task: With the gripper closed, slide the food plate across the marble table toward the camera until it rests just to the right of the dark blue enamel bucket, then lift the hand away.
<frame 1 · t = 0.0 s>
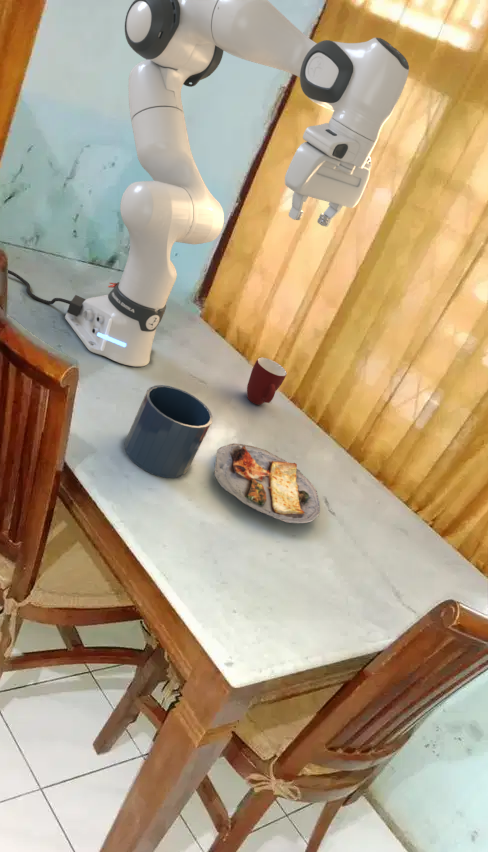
hand: (308, 221, 132), 48 cm above the table, tool pointing down, fingers open, 8 cm apart
mug: (255, 403, 179), on the table
food plate: (263, 489, 148), on the table
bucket: (156, 456, 140), on the table
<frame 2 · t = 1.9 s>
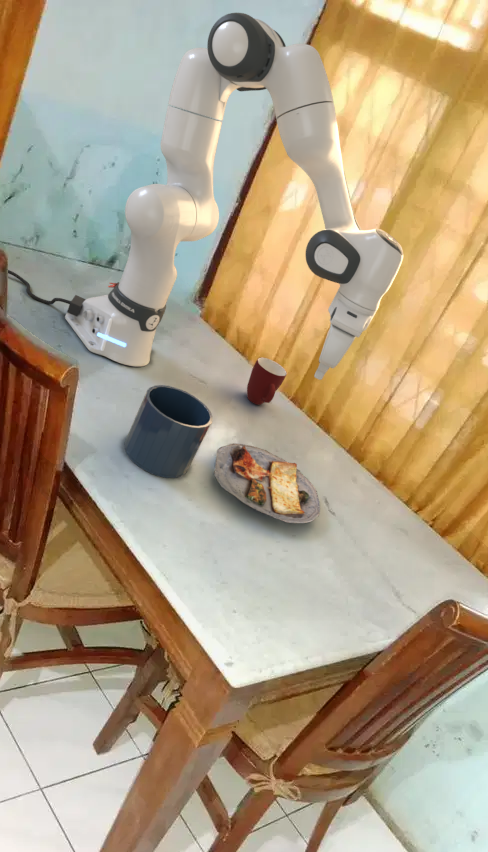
hand: (319, 370, 153), 22 cm above the table, tool pointing down, fingers open, 8 cm apart
nothing on the table moved.
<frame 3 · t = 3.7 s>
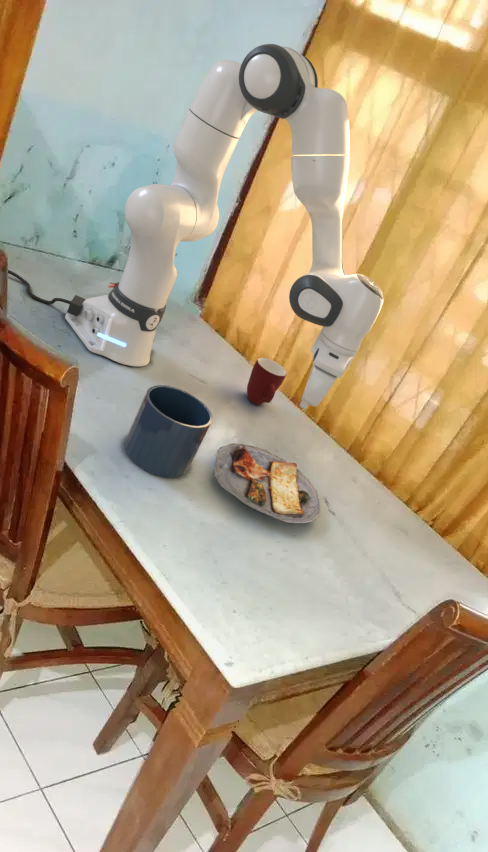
hand: (303, 405, 158), 12 cm above the table, tool pointing down, fingers closed
nothing on the table moved.
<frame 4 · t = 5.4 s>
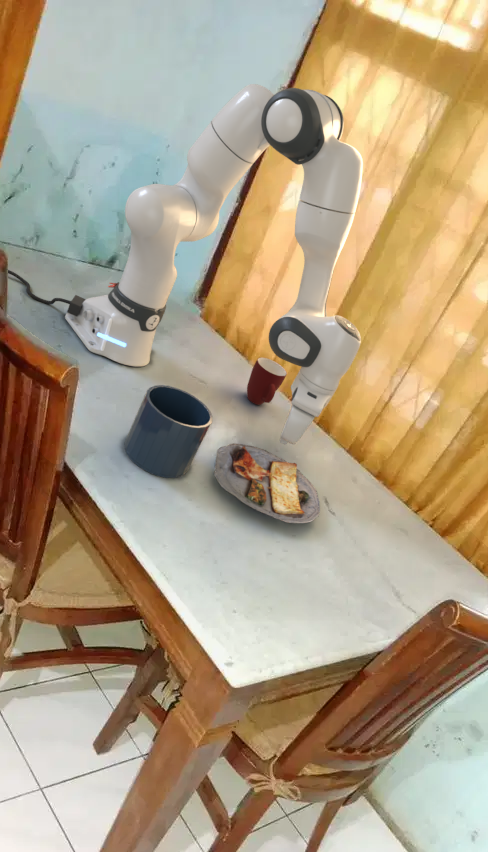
hand: (283, 440, 161), 4 cm above the table, tool pointing down, fingers closed
nothing on the table moved.
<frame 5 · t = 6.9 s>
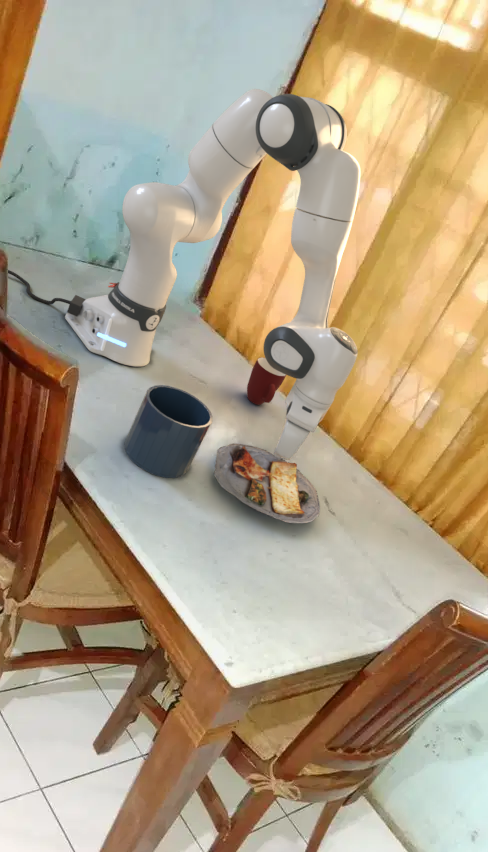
hand: (277, 455, 157), 3 cm above the table, tool pointing down, fingers closed
food plate: (263, 489, 148), on the table, touching gripper
everything else where it was.
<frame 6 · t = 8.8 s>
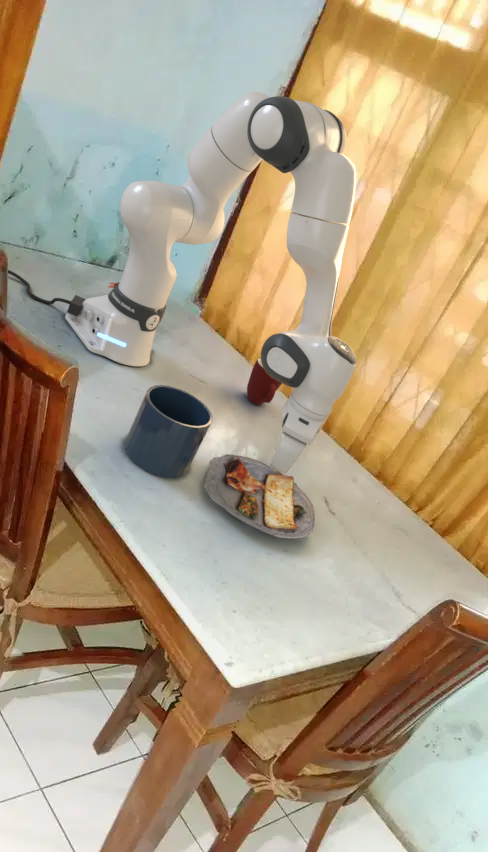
hand: (273, 467, 152), 3 cm above the table, tool pointing down, fingers closed
food plate: (256, 502, 143), on the table, touching gripper
everything else where it was.
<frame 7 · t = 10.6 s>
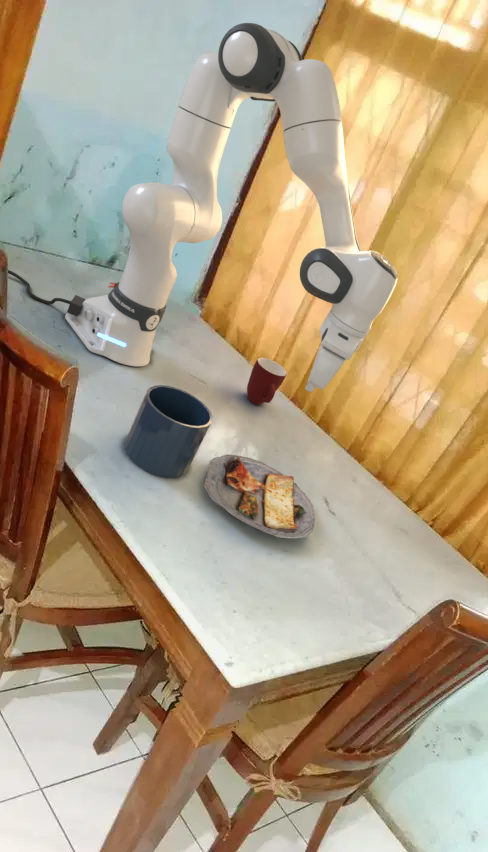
hand: (308, 388, 152), 18 cm above the table, tool pointing down, fingers closed
food plate: (256, 502, 143), on the table
everything else where it was.
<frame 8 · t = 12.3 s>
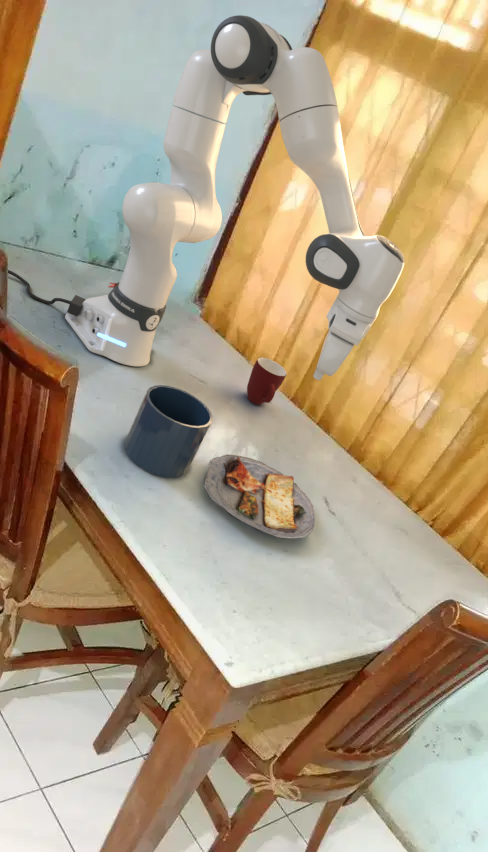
hand: (316, 376, 151), 21 cm above the table, tool pointing down, fingers closed
nothing on the table moved.
at the end: food plate inside the target area on the table beside the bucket (2.6 cm from its centre), on the table; food plate moved 6.0 cm from its start; food plate touching table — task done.
